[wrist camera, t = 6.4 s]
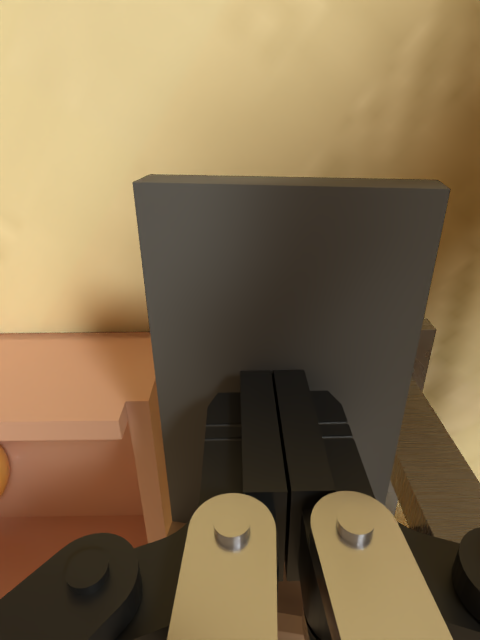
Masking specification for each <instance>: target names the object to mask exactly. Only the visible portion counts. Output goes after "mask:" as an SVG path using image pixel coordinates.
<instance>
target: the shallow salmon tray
mask: <svg viewBox="0 0 480 640" xmlns="http://www.w3.org/2000/svg"><path fill="white" fill-rule="evenodd" d="M0 445H1V446H2V448H3V449H4V451H5V452H6V455H7V457H8V460H9V467H10V473H9V479H8V483H7V486H6V488H5V490H4V492H3V494H2V496H1V497H0V599H1V598H2V597H4V596H5V595H6V594H7V593H8V592H10V591H11V590H12V589H13V588H14V587H16V586H17V585H18V584H19V583H21V582H22V581H23V580H24V579H25V578H27V577H28V576H29V575H30V574H32V573H33V572H34V571H35V570H36V569H38V568H39V567H40V566H41V565H42V564H44V563H45V562H46V561H47V560H49V559H50V558H51V557H52V556H53V555H55V554H56V553H57V552H58V551H59V550H61V549H62V548H63V547H65V546H66V545H67V544H69V543H71V542H72V541H74V540H76V539H78V538H81V537H83V536H86V535H90V534H94V533H111V534H116V535H118V536H121V537H123V538H124V539H126V540H127V541H128V542H129V543H130V544H131V545H132V546H133V548H136V547H139V546H142V545H145V544H148V543H151V542H154V541H157V540H160V539H163V538H165V537H167V534H168V532H169V529H170V526H171V523H172V515H171V507H170V498H169V490H168V481H167V473H166V464H165V455H164V447H163V438H162V430H161V421H160V413H159V404H158V395H157V387H156V378H155V370H154V361H153V353H152V344H151V335H150V332H95V333H7V334H0Z"/></svg>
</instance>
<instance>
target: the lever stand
mask: <svg viewBox="0 0 480 640" xmlns="http://www.w3.org/2000/svg"><path fill="white" fill-rule="evenodd" d="M435 333H436V329H435V328H434V326H433V325H432V324H431V323H430V322H429V321H428V319H423V324H422V329H421V333H420V338H419V343H418V348H417V353H416V357H415V362H414V367H413V372H412V377H411V382H410V386H409V391H408V396H407V401H406V406H405V411H404V415H403V420H402V425H401V430H400V435H399V439H398V444H397V449H396V454H395V459H394V464H393V468H392V473H391V478H390V483H389V488H388V493H387V497H386V502H385V507H386V508H387V509H388V510H389V511H390V512H391V513H392V514H393V516H394V515H395V510H396V506H397V501H399V503H400V506H401V508H402V511H403V513H404V515H405V518H406V520H407V523H408V525H409V528H410V529H412V530H414V531H417V532H420V533H423V534H426V535H430V536H434V537H438V538H441V539H445V540H449V541H453V542H456V543H460V542H461V540H462V538H463V537H464V535H465V534H466V533H468V532H469V531H471V530H473V529H475V528H479V527H480V482H479V481H478V479H477V478H476V476H475V475H474V473H473V471H472V470H471V468H470V467H469V465H468V464H467V462H466V460H465V459H464V457H463V456H462V454H461V453H460V451H459V449H458V448H457V446H456V445H455V443H454V442H453V440H452V438H451V437H450V435H449V434H448V432H447V431H446V429H445V427H444V426H443V424H442V423H441V421H440V419H439V418H438V416H437V415H436V413H435V412H434V410H433V408H432V407H431V405H430V404H429V402H428V401H427V399H426V397H425V396H424V394H423V393H422V390H423V386H424V382H425V377H426V373H427V368H428V364H429V359H430V355H431V350H432V346H433V342H434V337H435Z"/></svg>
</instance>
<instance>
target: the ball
mask: <svg viewBox="0 0 480 640" xmlns="http://www.w3.org/2000/svg"><path fill="white" fill-rule="evenodd" d="M9 473H10V467H9V460H8V457H7V455H6V452H5V451H4V449H3V448H2V446H1V445H0V497H1V496H2V494H3V492H4V490H5V488H6V486H7V483H8V479H9Z"/></svg>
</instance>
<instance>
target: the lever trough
mask: <svg viewBox="0 0 480 640" xmlns="http://www.w3.org/2000/svg"><path fill="white" fill-rule="evenodd" d="M133 190H134V198H135V207H136V216H137V224H138V233H139V241H140V250H141V258H142V267H143V276H144V284H145V293H146V301H147V310H148V318H149V327H150V335H151V344H152V353H153V361H154V370H155V378H156V387H157V395H158V404H159V413H160V421H161V430H162V438H163V447H164V455H165V464H166V473H167V481H168V490H169V498H170V507H171V515H172V523H171V526H170V529H169V532H168V534H167V537H168V536H170V535H171V534H173V533H175V532H177V531H178V530H179V529H181V528H182V527H183V526H184V525H185V524H186V523H187V522H188V521H189V520H190V519H191V517H192V516H193V514H194V513H195V511H196V509H197V506H198V503H199V498H200V488H201V476H202V465H203V453H204V442H205V430H206V418H207V407H208V406H209V404H210V403H211V401H212V400H213V399H214V397H215V396H216V394H217V393H227V392H240V371H252V370H271V375H272V371H273V370H299V369H304V371H305V374H306V378H307V382H308V386H309V389H310V391H325V390H328V391H329V392H330V393H331V394H332V395H333V396H334V397H335V398H336V399H337V400H338V401H339V402H340V403H341V404H342V407H343V410H344V412H345V415H346V418H347V421H348V424H349V426H350V429H351V432H352V435H353V439H354V440H355V443H356V446H357V449H358V452H359V454H360V457H361V460H362V463H363V466H364V468H365V471H366V474H367V477H368V480H369V482H370V485H371V488H372V491H373V494H374V496H375V498H376V500H378V501H379V502H380V503H382V504H383V505H384V506H385V502H386V497H387V493H388V488H389V483H390V478H391V473H392V468H393V464H394V459H395V454H396V449H397V444H398V439H399V435H400V430H401V425H402V420H403V415H404V411H405V406H406V401H407V396H408V391H409V386H410V382H411V377H412V372H413V367H414V362H415V357H416V353H417V348H418V343H419V338H420V333H421V329H422V324H423V319H424V314H425V309H426V304H427V300H428V295H429V290H430V285H431V280H432V275H433V271H434V266H435V261H436V256H437V251H438V247H439V242H440V237H441V232H442V227H443V222H444V218H445V213H446V208H447V203H448V198H449V193H450V189H449V188H448V187H447V186H445V185H444V184H443V183H441V182H440V181H438V180H419V179H366V178H313V177H261V176H208V175H156V174H150V175H148V176H145V177H143V178H141V179H139V180H136V181H134V182H133ZM302 613H303V600H302V592H301V585H300V581H287V580H286V571H285V562H284V574H283V581H281V582H278V604H277V639H278V640H305V639H304V634H303V629H302Z"/></svg>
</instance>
